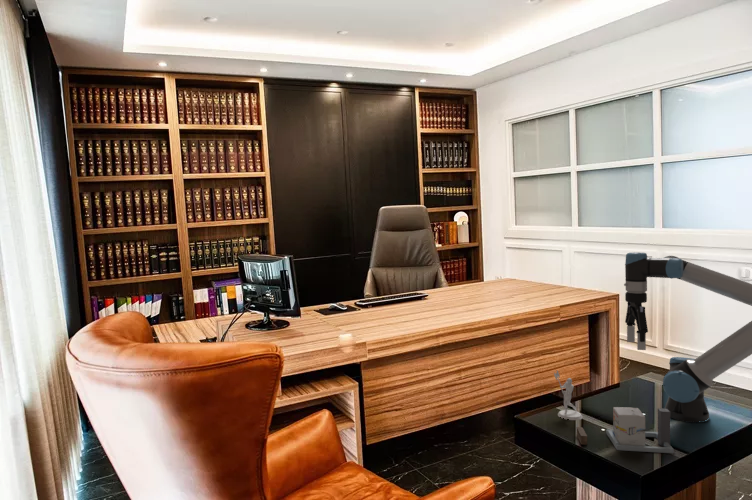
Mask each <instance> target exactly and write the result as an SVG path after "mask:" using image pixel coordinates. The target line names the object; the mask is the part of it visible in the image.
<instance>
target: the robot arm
mask: <svg viewBox="0 0 752 500" xmlns="http://www.w3.org/2000/svg"><path fill="white" fill-rule="evenodd" d="M647 254H648V253H647V252H635V251H634V252H633V251H632V252H628V253H626V255H625V262H624V266H625V267H624V270H625V272H624V273H625V282H624V284H623V286H624V287H625V292H624V295H625V296H624V298H625V302H626V303H627V307H626V315H625V321H624V322H625V324H626V342H627V343H635V341H636V340H637V342H636V343H637V344H636V346H637V347H636V349H637V351H646V349H647V346H646V345H647V344H646V343H647V341H646V339H647V336H646V335H647V333H648V332H649V330H648V322H647V316H646V307H645V306H642V304H644V303H645V304H646V303H647V301H648V293H646V292H647V291H648V278H656V279H657V278H660V279H663V278H664V279H677V280H681V281H684V282H686V283H689V284H692V285H695V286H698V287H700V288H703V289H705V290H708V291H710V292H713V293H715V294H718V295H721V296H724V297H727V298H730V299H732V300H735V301H737V302H740V303H743V304H746V305H749V306H751V307H752V283H750V282H747V281H744V280H741V279H738V278H736V277H733V276H730V275H728V274H724V273H721V272H719V271H716V270H713V269H710V268H707V267H704V266H701V265H698V264H695V263H692V262H690V261H686V260H685V259H684V260H683V259H682V258H679V257H678V256H675V255H667V256H665V257H648V255H647ZM635 326H636V327H637V331H636V330H635V329H636V327H635ZM636 334H637V339H635V338H636V336H635V335H636ZM751 355H752V320H751V321H749V322H748V323H746V324H745V325H743V326H741V327H740V328H739V329H737V330H736V331H735V332H733V333H731V334H730V335H729V336H727V337H726V338H724V339H723V340H721V341H720V342H718V343H717V344H715V345H714V346H713V347H711V348H710V349H708V350H706V351H705V352H704V353H702V354H701V355H699V356H698V357H696V358H691V357H682V356H674V357H673V356H672V357H670V359H669V370H668V371H667V373H666V374H665V375H664V376H663V378H662V387H663V390H664V392H665V393H666V395H667V396H668V398H667V401H666V403H665V405H664V409H668V410H669V411H670V419H673V420H677V421H681V422H686V421H687V422H686V423H696V422H699V421H705V420H707V419H708V418H709V419H710V412H709V409H708V406H707V404H706V401H705V391H706V390H707V389H709V388H711V387H712V386H713V384H714V383H713V382H714V381H713V380H714V379H716V378H717V377H719V376H720V375H722V374H723V373H725V372H726V371H728V370H730V369H732V368H733V367H734V366H736V365H737V364H739V363H741V362H742V361H744V360H745V359H747V358H748V357H750V356H751ZM699 423H700V422H699Z"/></svg>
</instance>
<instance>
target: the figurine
mask: <svg viewBox="0 0 752 500" xmlns="http://www.w3.org/2000/svg"><path fill="white" fill-rule="evenodd" d="M553 373H554V374H553V375H554V378H555V380H556V381H558V383H559V388H560V389H561V393H562V395H563V407H564V409H561V410H560V411H558V413H557V416H558V417H559V418H560V417H561V418H560V419H563V418H564V419H563V420H567V419H569V420H568V421H579V420H582V419H583V418H584V417H583V415H582V413H580V412H579V411H578V410H577V406H576V405H574V404H573V403H571V399H572V395H573V394H572V393H573V390H574V388H575V387H574V385H573V379H572V378H571V377H567V378H566V381H565V382H564V384H561V382H560V373H559V370H556V373H555V372H553ZM563 389H565V390H563ZM568 407H572V409H568Z"/></svg>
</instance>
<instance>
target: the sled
mask: <svg viewBox="0 0 752 500" xmlns="http://www.w3.org/2000/svg"><path fill="white" fill-rule="evenodd" d="M605 431H606V433H605V434H606V436H607V437H608V439H609V440H610V441H611V443H612V445H613V446H614V448H615V449H616V451H629V452H644V453H645V452H648V453H660V454H661V453H662V454H663V453H664V454H674V451H675V449H674V448H673V447H672V446H671V417H670V411H669V410H668V409H665V408H659V407H658V408H657V431H645V438H656V439H657V444H658V445H659V446H652V445H651V446H649V445H645V446H634V445H620V443H619V442H618V440H617V439H616V437H615V436H614V434H613V429H606V430H605Z"/></svg>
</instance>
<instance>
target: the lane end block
mask: <svg viewBox="0 0 752 500" xmlns="http://www.w3.org/2000/svg"><path fill="white" fill-rule="evenodd" d="M576 437H577V439H578V440H579V443H580V444H581V445H585V446H586V445H588V434H587V433H586V431H585V429H584V428H583V427H581V426H577V427H576Z"/></svg>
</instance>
